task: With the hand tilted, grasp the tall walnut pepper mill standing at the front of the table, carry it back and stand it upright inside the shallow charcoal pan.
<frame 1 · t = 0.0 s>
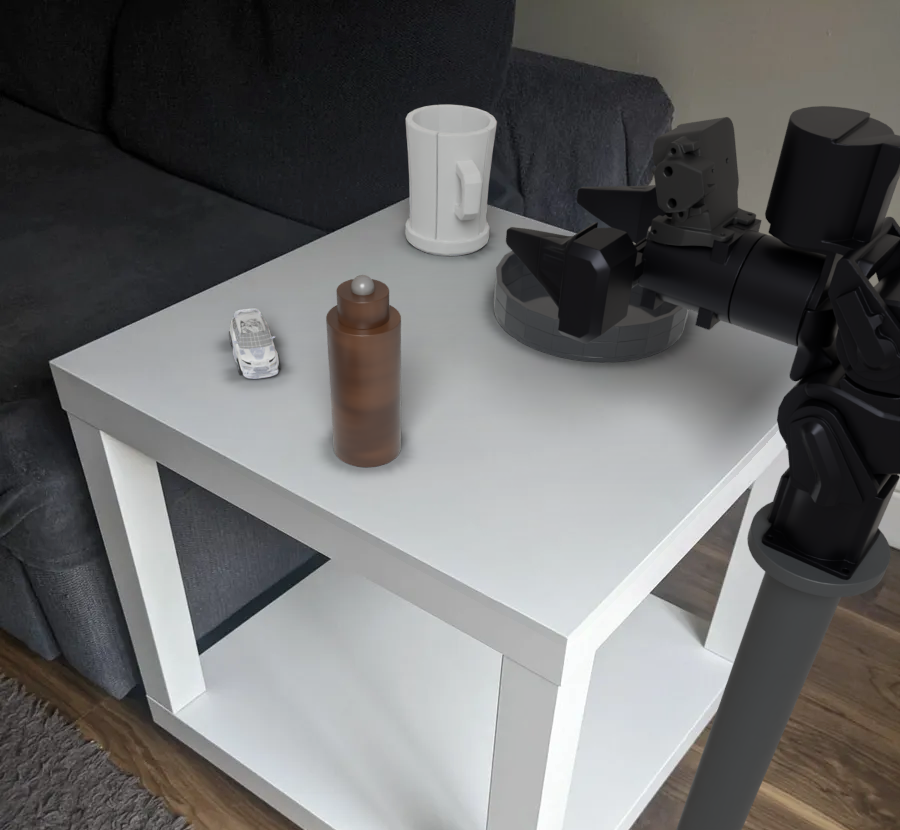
hand: (544, 214, 69), 16 cm above the table, tool horizontal, fingers open, 9 cm apart
cup: (452, 243, 104), on the table
pan: (588, 313, 93), on the table
toy car: (255, 360, 86), on the table
pepper mill: (367, 447, 76), on the table
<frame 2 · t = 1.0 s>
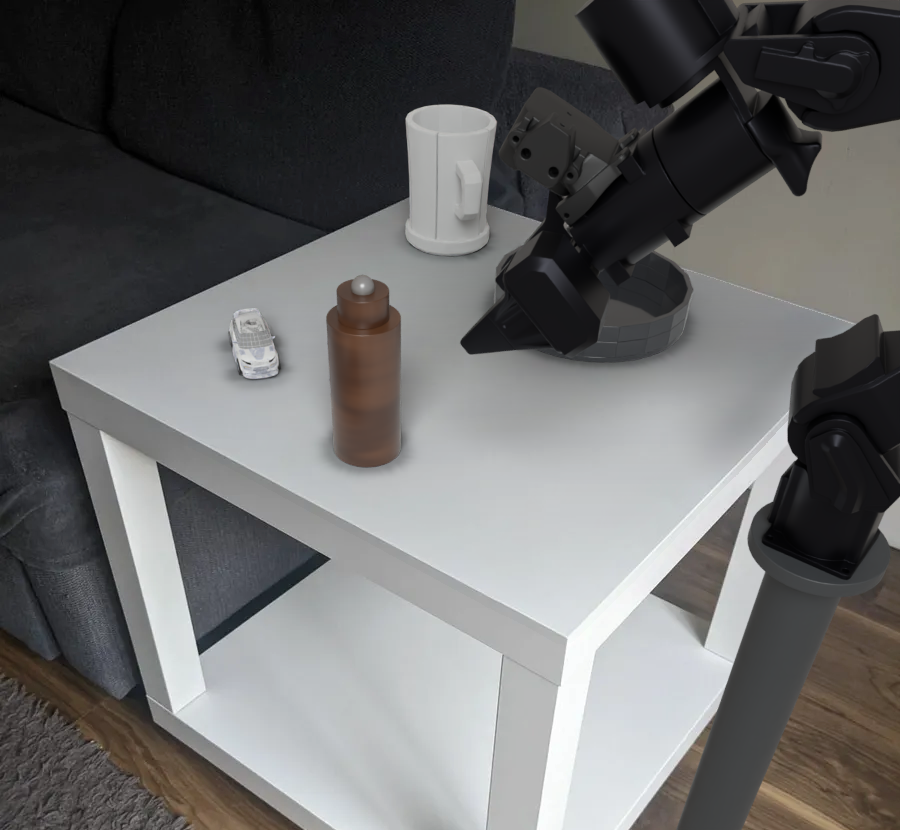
hand: (482, 314, 66), 13 cm above the table, tool tilted 45°, fingers open, 9 cm apart
nothing on the table moved.
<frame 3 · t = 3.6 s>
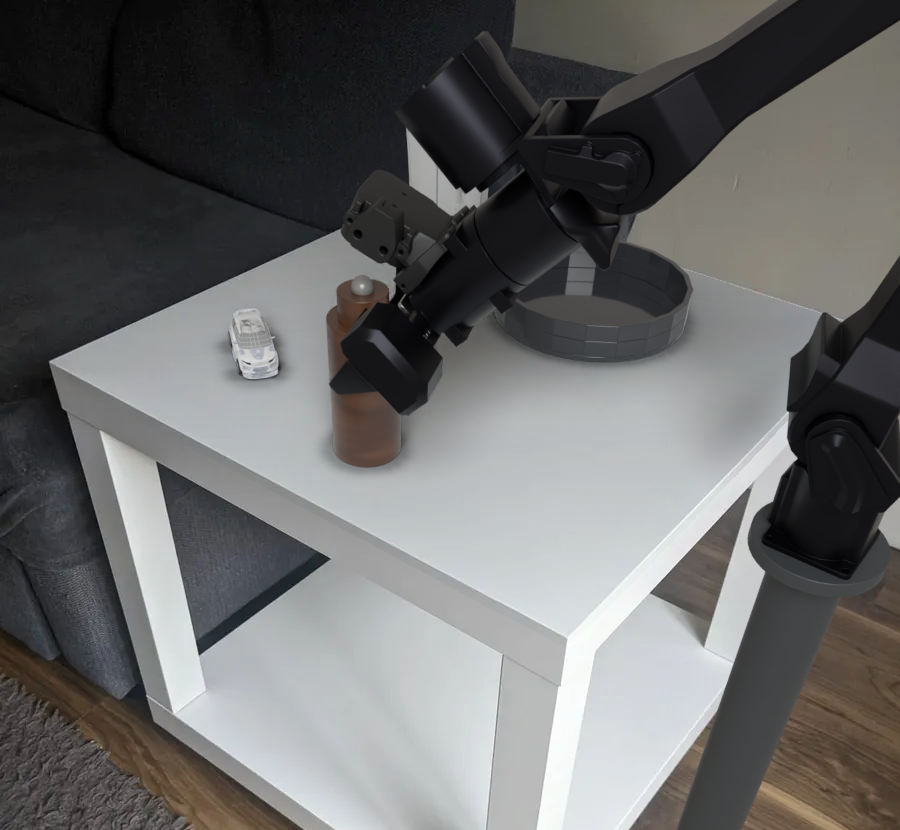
hand: (347, 369, 72), 7 cm above the table, tool tilted 45°, fingers closed on pepper mill, 5 cm apart
pepper mill: (367, 447, 76), on the table, touching gripper
everything else where it was.
when the fingers open (7 cm above the table, at t = 11.2 s): pepper mill stays where it is, resting on pan.
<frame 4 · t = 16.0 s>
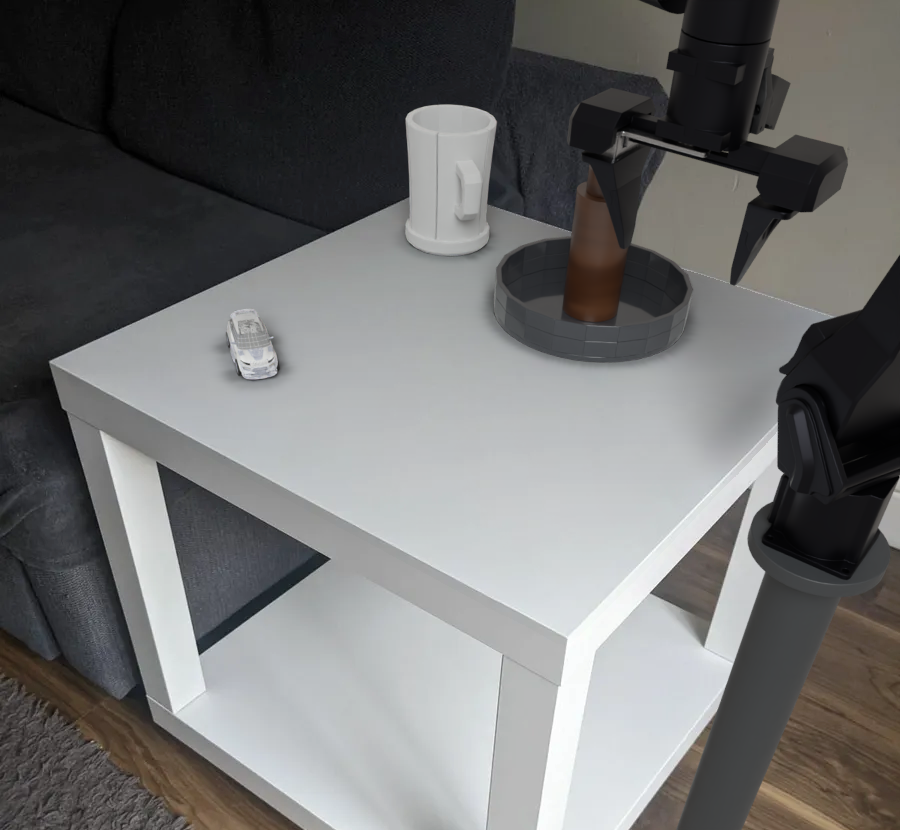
hand: (678, 264, 74), 12 cm above the table, tool pointing down, fingers open, 9 cm apart
pepper mill: (589, 308, 93), resting on pan
everything else where it was.
at the end: pepper mill inside the target area in the pan (0.1 cm from its centre), point 0.5 cm above the pan's base; pepper mill tilted 0°; the gripper is holding nothing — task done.
